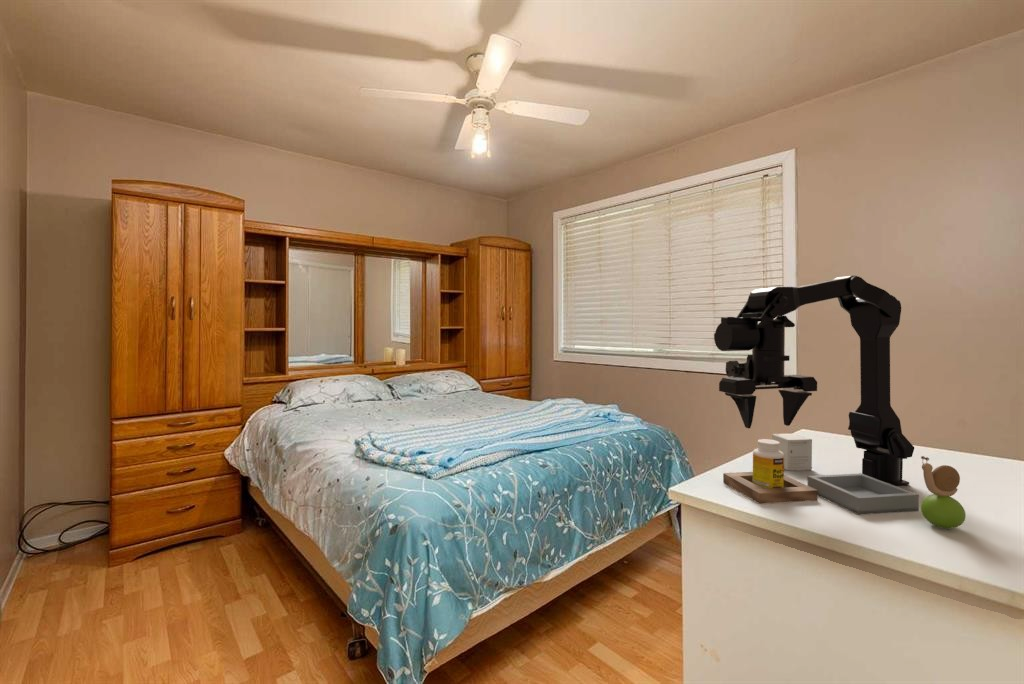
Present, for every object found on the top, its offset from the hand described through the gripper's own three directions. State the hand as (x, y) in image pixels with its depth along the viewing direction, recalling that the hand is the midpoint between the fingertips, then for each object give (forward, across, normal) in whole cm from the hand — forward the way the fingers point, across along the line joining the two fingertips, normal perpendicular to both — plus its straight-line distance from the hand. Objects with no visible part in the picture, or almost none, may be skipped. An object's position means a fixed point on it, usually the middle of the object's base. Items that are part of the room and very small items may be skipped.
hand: (767, 426), depth 94 cm
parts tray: (+13, -13, +9) cm, 21 cm away
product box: (+13, -17, -12) cm, 25 cm away
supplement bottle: (+13, 0, 0) cm, 13 cm away
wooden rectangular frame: (+13, 0, 0) cm, 13 cm away
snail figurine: (+13, -15, +21) cm, 29 cm away
